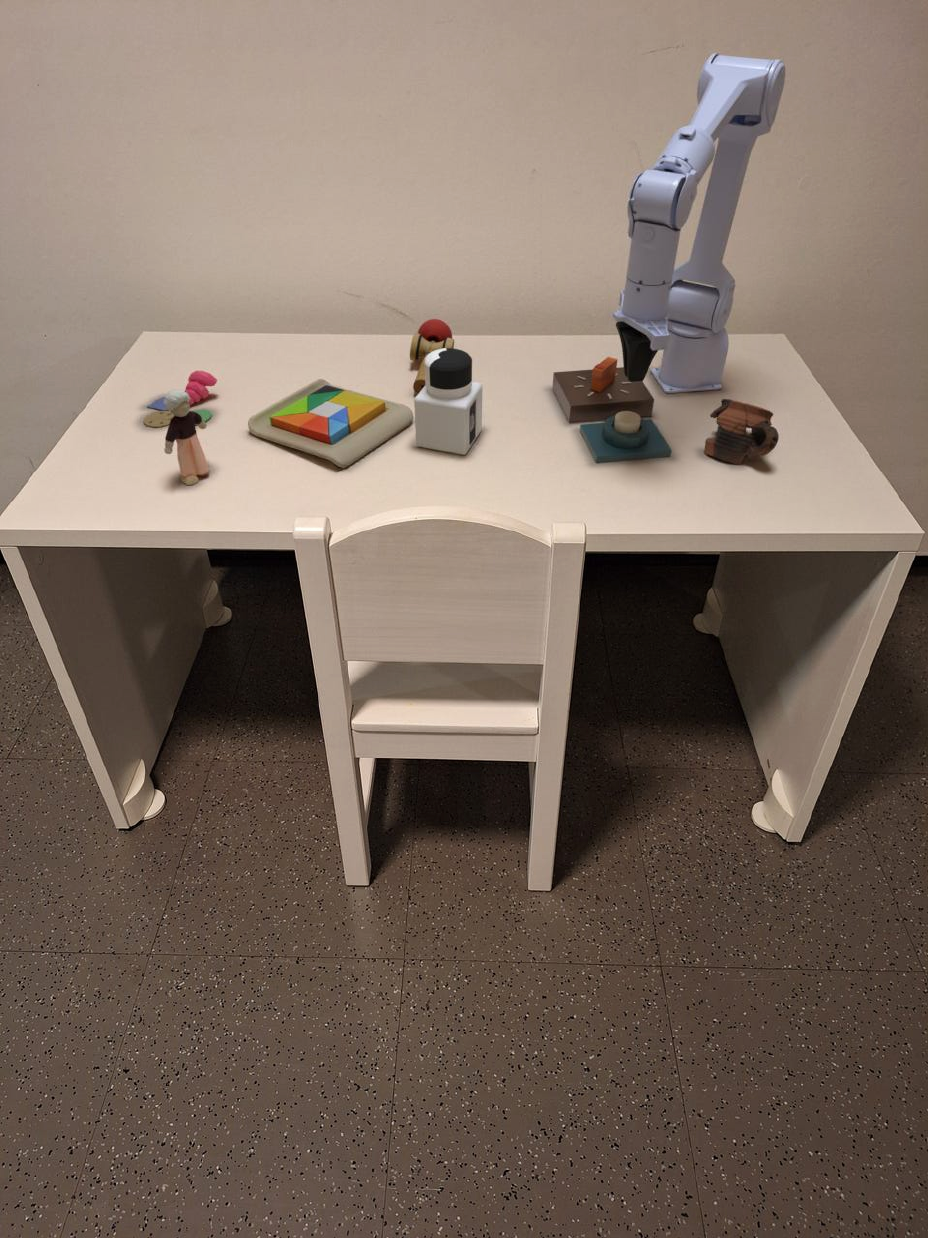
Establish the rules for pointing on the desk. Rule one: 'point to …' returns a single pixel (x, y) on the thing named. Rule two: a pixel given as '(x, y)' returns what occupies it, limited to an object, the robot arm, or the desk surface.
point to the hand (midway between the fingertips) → (634, 377)
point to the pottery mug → (741, 432)
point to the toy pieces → (195, 392)
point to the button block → (624, 442)
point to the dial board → (599, 396)
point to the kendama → (429, 345)
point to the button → (627, 422)
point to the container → (448, 403)
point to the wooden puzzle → (331, 422)
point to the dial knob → (603, 374)
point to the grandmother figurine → (185, 437)
